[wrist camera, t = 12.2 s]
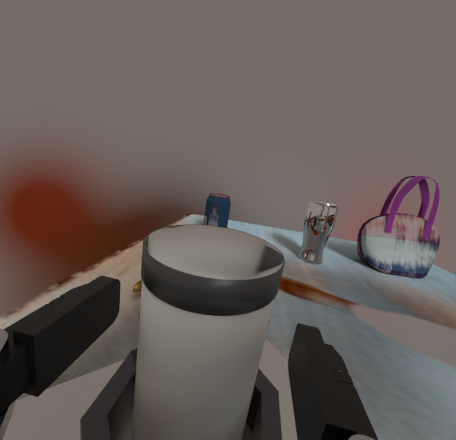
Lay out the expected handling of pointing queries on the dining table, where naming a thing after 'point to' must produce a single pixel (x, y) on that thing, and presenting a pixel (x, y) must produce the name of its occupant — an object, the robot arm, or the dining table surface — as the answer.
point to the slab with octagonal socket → (124, 404)
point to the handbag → (401, 235)
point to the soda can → (217, 210)
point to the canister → (201, 330)
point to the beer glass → (317, 230)
